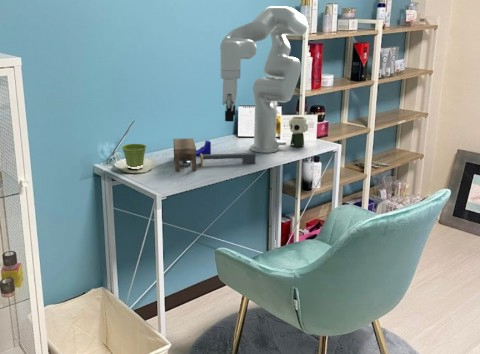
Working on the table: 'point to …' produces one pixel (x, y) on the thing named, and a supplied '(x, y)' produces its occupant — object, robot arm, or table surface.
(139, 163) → the plant pot
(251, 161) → the scraper
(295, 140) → the character mug
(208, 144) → the blue shoe
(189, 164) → the steel token
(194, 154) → the brown block with legs
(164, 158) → the table surface
